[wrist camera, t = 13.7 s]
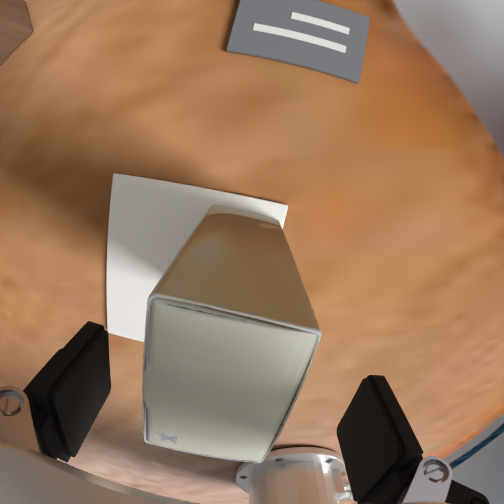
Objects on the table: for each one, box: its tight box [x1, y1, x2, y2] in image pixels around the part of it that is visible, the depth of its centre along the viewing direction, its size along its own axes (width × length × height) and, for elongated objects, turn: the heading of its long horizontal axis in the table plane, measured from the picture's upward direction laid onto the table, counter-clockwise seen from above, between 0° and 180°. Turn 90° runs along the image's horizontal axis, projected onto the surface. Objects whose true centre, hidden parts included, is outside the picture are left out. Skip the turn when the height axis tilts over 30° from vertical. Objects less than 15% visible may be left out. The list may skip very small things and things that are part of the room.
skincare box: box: [142, 205, 322, 463], centre depth 13 cm, size 6×4×12 cm
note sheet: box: [107, 173, 288, 342], centre depth 20 cm, size 11×12×1 cm
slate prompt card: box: [226, 0, 370, 84], centre depth 14 cm, size 8×5×1 cm, turn 78°
